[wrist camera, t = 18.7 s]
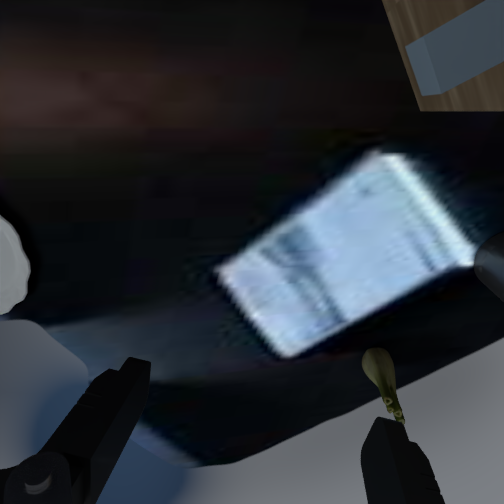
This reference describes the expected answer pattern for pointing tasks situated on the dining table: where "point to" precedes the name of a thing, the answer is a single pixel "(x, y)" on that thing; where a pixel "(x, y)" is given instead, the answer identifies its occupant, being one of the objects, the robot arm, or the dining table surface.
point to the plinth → (423, 22)
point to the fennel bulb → (383, 378)
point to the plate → (12, 267)
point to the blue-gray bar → (459, 48)
